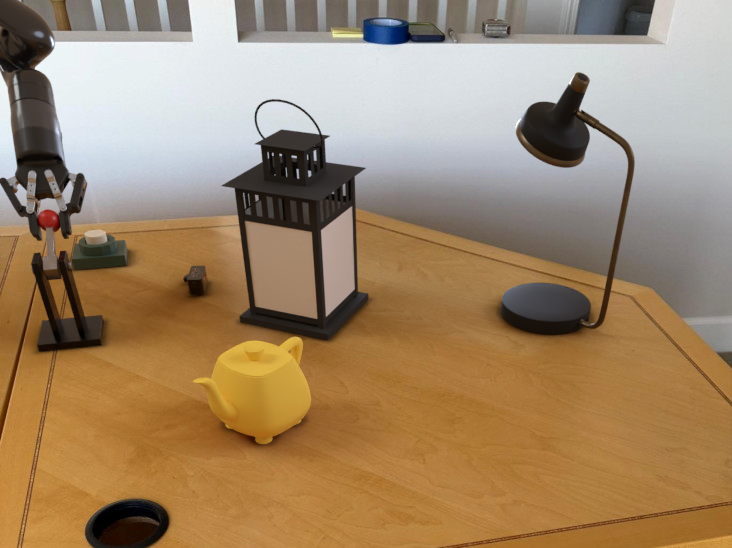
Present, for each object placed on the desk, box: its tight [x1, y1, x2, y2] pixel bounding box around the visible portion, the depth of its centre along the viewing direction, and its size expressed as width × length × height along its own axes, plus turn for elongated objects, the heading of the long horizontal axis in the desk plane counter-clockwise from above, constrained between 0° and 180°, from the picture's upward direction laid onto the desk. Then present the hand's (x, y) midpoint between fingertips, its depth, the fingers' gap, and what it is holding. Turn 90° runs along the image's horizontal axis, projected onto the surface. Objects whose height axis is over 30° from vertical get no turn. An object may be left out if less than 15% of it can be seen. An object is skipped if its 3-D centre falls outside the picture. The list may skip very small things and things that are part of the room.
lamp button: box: [84, 229, 107, 245], centre depth 153 cm, size 4×4×2 cm
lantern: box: [221, 98, 369, 341], centre depth 129 cm, size 17×17×35 cm
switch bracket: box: [30, 250, 105, 352], centre depth 128 cm, size 9×10×14 cm
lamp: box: [499, 71, 636, 336], centre depth 127 cm, size 16×22×38 cm
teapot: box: [192, 336, 312, 445], centre depth 109 cm, size 13×20×12 cm
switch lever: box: [38, 208, 63, 281], centre depth 126 cm, size 13×4×4 cm, turn 14°
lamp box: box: [71, 233, 129, 271], centre depth 155 cm, size 10×8×4 cm
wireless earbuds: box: [182, 265, 209, 296], centre depth 146 cm, size 5×7×3 cm, turn 4°
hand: (52, 237), depth 128 cm, fingers closed on switch lever, 3 cm apart
